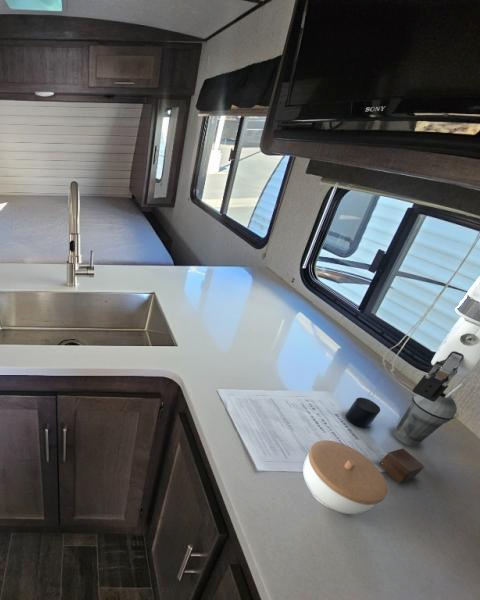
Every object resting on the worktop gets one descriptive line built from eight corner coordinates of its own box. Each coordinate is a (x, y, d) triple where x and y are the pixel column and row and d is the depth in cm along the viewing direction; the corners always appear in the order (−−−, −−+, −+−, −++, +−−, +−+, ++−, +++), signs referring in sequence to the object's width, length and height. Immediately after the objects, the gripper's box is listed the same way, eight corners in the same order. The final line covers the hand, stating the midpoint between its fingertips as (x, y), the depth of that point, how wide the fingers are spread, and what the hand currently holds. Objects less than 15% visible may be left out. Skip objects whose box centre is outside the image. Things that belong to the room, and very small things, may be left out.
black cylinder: (354, 411, 88) (365, 395, 84) (373, 426, 83) (385, 410, 80) (340, 414, 86) (351, 399, 83) (358, 430, 82) (370, 414, 79)
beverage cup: (388, 420, 85) (433, 364, 75) (425, 438, 81) (478, 381, 70) (384, 437, 81) (432, 379, 70) (423, 457, 76) (480, 398, 66)
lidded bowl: (317, 525, 63) (343, 495, 57) (282, 464, 73) (301, 433, 68) (380, 526, 63) (412, 496, 57) (336, 465, 74) (359, 434, 68)
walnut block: (392, 459, 75) (402, 448, 73) (413, 478, 72) (425, 466, 69) (378, 464, 74) (388, 452, 72) (399, 483, 71) (410, 471, 68)
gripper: (518, 341, 46) (445, 419, 55) (532, 307, 55) (467, 380, 64) (447, 316, 52) (391, 391, 60) (470, 289, 60) (418, 358, 69)
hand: (430, 385), depth 62 cm, fingers open, 9 cm apart
